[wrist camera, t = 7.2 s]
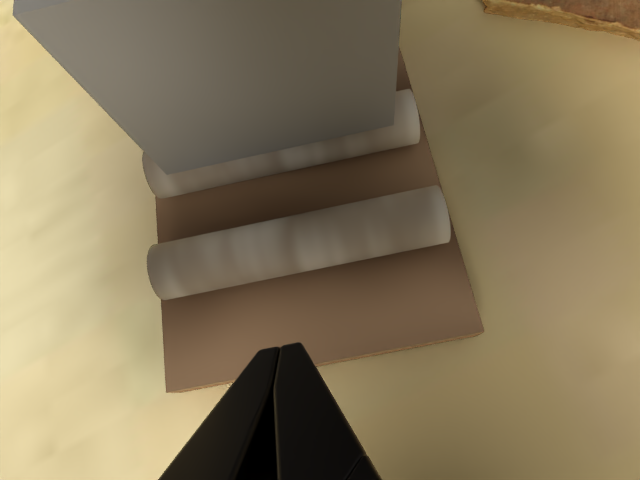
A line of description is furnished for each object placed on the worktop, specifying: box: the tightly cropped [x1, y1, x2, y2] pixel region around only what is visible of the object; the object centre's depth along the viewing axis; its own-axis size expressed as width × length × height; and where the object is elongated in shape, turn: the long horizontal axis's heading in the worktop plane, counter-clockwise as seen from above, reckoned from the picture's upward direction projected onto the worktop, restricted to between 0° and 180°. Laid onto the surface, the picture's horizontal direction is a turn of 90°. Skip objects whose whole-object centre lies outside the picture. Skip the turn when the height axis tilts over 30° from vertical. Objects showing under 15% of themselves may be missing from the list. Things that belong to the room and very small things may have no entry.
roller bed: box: [142, 48, 484, 393], centre depth 16 cm, size 21×11×8 cm, turn 10°
